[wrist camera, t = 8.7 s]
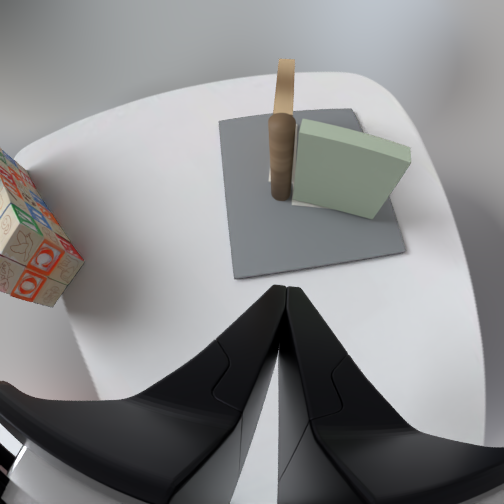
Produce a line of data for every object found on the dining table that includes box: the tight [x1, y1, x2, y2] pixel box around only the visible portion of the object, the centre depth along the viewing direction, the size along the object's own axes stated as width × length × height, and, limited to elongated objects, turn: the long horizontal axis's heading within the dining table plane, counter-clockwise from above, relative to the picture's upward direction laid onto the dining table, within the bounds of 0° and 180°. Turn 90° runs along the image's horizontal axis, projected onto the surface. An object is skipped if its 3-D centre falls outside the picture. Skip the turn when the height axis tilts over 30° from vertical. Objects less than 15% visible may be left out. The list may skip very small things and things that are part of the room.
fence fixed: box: [268, 59, 296, 201], centre depth 20 cm, size 9×2×8 cm, turn 173°
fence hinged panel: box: [293, 119, 411, 219], centre depth 18 cm, size 7×1×8 cm, turn 74°
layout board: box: [219, 109, 406, 279], centre depth 23 cm, size 16×14×1 cm
